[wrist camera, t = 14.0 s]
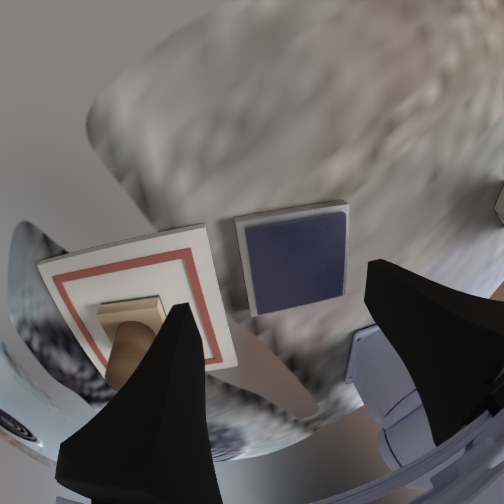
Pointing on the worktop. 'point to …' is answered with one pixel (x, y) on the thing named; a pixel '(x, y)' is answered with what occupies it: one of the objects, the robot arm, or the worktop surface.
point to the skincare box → (500, 206)
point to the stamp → (129, 334)
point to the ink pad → (294, 255)
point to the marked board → (141, 288)
